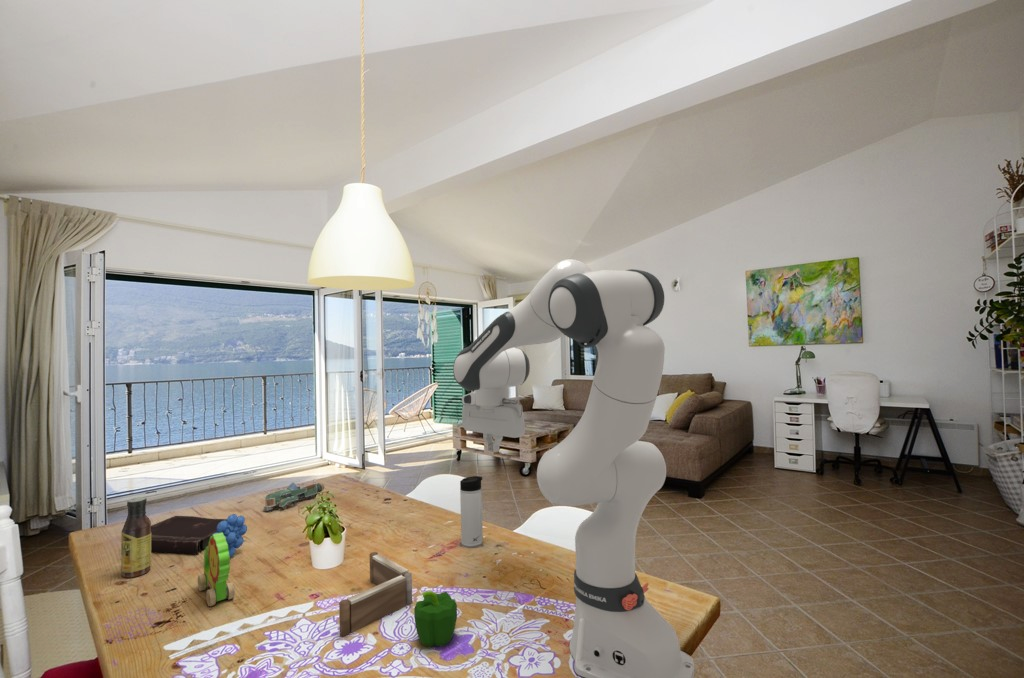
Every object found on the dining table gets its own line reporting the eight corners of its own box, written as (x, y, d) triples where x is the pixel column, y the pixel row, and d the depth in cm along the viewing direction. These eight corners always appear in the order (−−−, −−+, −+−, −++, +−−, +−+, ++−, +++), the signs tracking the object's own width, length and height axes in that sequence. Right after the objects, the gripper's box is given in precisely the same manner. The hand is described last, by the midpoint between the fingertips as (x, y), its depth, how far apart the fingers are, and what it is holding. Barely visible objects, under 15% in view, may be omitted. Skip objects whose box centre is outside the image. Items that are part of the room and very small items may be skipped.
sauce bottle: (119, 574, 124) (119, 499, 125) (148, 565, 129) (148, 493, 129) (123, 582, 120) (123, 504, 120) (153, 573, 124) (153, 498, 125)
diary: (196, 558, 135) (195, 541, 135) (123, 554, 139) (122, 537, 139) (243, 532, 153) (243, 517, 153) (177, 529, 157) (177, 514, 157)
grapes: (235, 548, 139) (235, 507, 140) (252, 550, 137) (252, 509, 137) (198, 565, 128) (197, 521, 129) (216, 568, 126) (215, 523, 126)
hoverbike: (257, 510, 173) (257, 488, 173) (317, 492, 194) (316, 472, 194) (272, 515, 168) (272, 492, 168) (331, 495, 189) (331, 475, 189)
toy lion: (196, 588, 116) (195, 526, 116) (221, 580, 119) (220, 520, 120) (211, 613, 104) (210, 545, 105) (238, 603, 108) (237, 537, 108)
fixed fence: (414, 604, 105) (413, 574, 105) (342, 639, 93) (342, 605, 93) (409, 600, 107) (408, 571, 107) (338, 635, 94) (337, 602, 94)
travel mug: (480, 550, 133) (479, 480, 134) (458, 549, 134) (457, 479, 135) (486, 541, 139) (484, 474, 140) (465, 540, 141) (463, 473, 141)
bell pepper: (459, 627, 97) (458, 578, 97) (456, 652, 88) (454, 599, 89) (418, 628, 96) (417, 580, 97) (411, 655, 88) (410, 601, 88)
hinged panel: (375, 577, 117) (375, 551, 118) (409, 598, 107) (408, 569, 107) (368, 580, 116) (368, 554, 116) (401, 602, 106) (401, 573, 106)
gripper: (530, 398, 116) (531, 454, 116) (475, 394, 130) (476, 444, 130) (512, 401, 112) (514, 459, 111) (457, 396, 126) (458, 448, 125)
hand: (493, 451), depth 121 cm, fingers closed
